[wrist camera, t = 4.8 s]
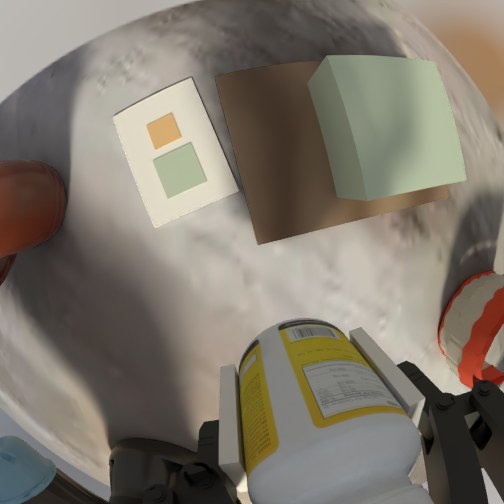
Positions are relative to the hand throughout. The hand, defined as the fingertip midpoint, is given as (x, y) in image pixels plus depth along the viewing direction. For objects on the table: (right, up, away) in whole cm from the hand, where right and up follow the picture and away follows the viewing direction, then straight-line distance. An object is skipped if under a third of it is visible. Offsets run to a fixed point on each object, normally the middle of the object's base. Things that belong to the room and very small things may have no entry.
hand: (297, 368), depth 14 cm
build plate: (+5, +16, +5) cm, 17 cm away
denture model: (+22, -1, +10) cm, 24 cm away
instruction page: (-9, +14, +5) cm, 17 cm away
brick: (+7, +16, +4) cm, 18 cm away
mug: (-22, +10, +5) cm, 25 cm away
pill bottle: (0, 0, +1) cm, 1 cm away
